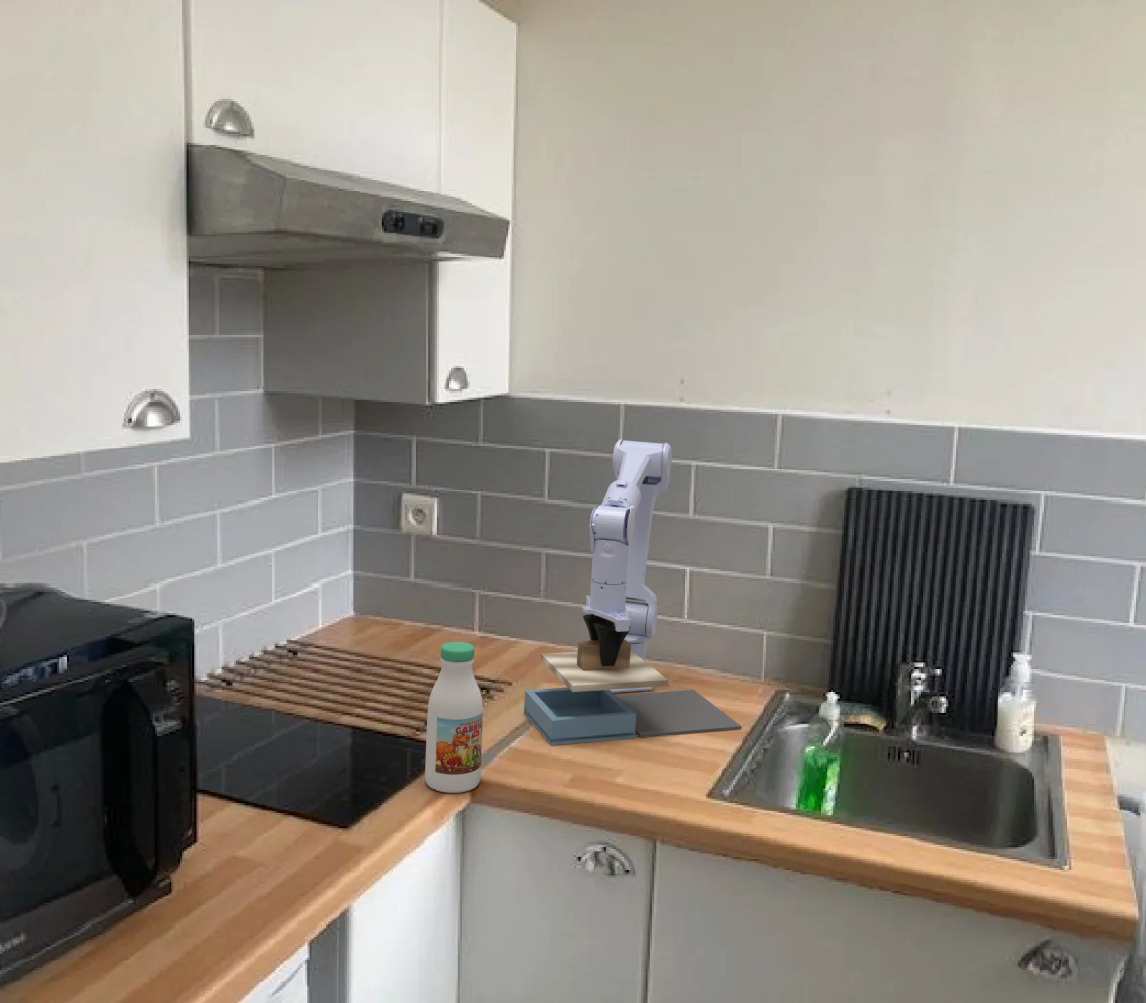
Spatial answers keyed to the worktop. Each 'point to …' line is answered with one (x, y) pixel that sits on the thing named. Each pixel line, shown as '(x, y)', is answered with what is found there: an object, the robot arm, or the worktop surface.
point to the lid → (602, 669)
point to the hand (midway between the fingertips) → (604, 661)
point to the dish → (579, 715)
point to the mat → (676, 714)
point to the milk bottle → (454, 723)
